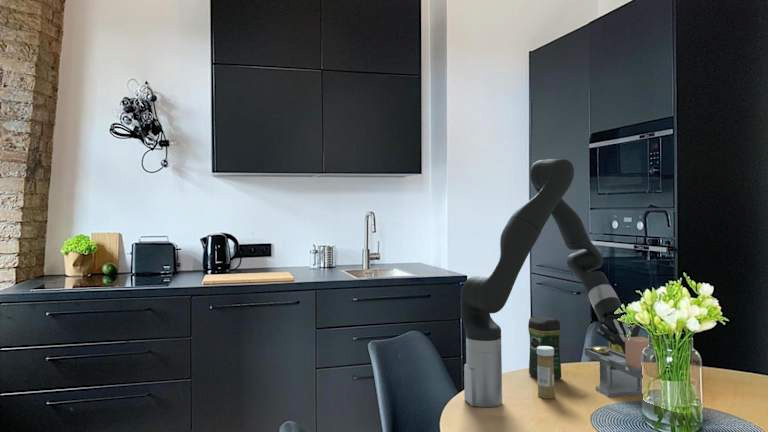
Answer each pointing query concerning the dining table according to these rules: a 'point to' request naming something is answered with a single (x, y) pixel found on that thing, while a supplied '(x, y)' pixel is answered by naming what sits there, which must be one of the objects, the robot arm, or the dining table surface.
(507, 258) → the robot arm
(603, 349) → the brass weight
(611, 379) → the fulcrum
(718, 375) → the dining table surface
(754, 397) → the dining table surface
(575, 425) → the dining table surface
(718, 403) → the dining table surface
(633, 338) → the brown rectangular block
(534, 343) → the coffee jar
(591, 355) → the beam
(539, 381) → the sprinkles bottle
